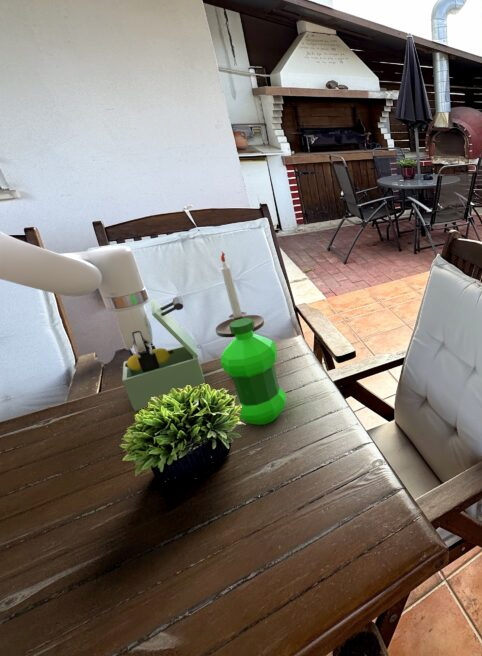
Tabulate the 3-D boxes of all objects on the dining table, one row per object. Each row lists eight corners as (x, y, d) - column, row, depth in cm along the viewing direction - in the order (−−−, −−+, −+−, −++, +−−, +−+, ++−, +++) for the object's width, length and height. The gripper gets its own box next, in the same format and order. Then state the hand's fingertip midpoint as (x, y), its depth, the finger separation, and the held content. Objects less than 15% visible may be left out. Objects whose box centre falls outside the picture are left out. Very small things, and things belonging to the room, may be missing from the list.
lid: (151, 314, 93) (177, 301, 95) (150, 300, 100) (174, 288, 103) (195, 358, 101) (217, 345, 103) (191, 342, 108) (212, 330, 111)
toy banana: (127, 375, 95) (121, 360, 94) (128, 370, 98) (122, 355, 97) (176, 361, 101) (171, 347, 100) (175, 357, 104) (171, 342, 103)
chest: (134, 411, 95) (122, 380, 92) (134, 390, 103) (123, 361, 100) (206, 387, 104) (197, 358, 101) (202, 370, 112) (193, 342, 109)
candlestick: (280, 367, 113) (253, 249, 101) (237, 386, 105) (202, 260, 93) (264, 355, 119) (237, 242, 107) (222, 371, 111) (187, 251, 99)
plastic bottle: (228, 428, 90) (199, 331, 81) (265, 399, 100) (242, 309, 91) (265, 436, 88) (239, 337, 79) (300, 406, 98) (279, 314, 89)
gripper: (106, 292, 97) (131, 357, 103) (102, 315, 85) (130, 387, 91) (147, 284, 101) (168, 347, 108) (148, 305, 90) (172, 374, 96)
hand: (151, 364), depth 99 cm, fingers closed on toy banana, 4 cm apart
